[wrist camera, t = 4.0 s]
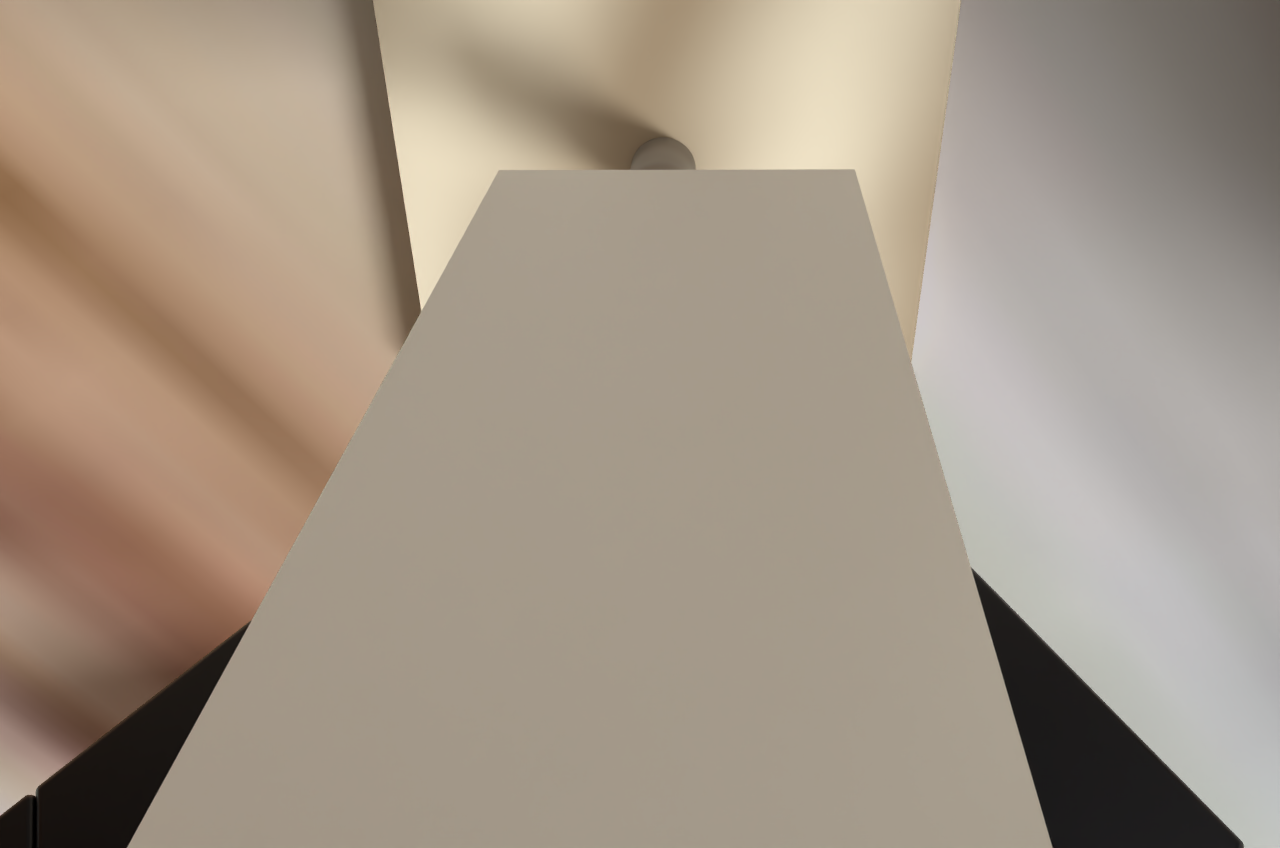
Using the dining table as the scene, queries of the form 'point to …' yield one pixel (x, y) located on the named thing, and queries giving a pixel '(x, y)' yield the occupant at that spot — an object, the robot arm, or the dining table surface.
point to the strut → (626, 559)
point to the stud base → (669, 102)
